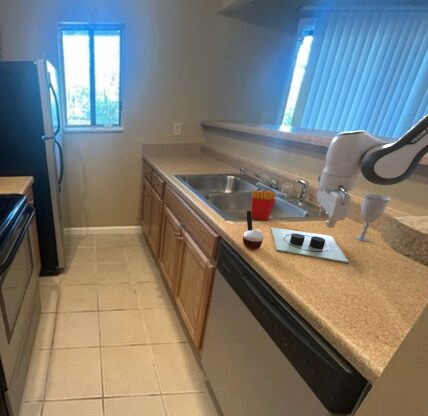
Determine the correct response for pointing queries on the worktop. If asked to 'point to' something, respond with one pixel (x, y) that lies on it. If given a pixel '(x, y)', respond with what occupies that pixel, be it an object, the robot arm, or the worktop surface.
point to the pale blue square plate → (307, 245)
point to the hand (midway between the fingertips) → (325, 221)
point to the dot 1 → (297, 239)
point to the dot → (317, 242)
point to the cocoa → (252, 235)
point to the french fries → (262, 204)
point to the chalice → (372, 210)
